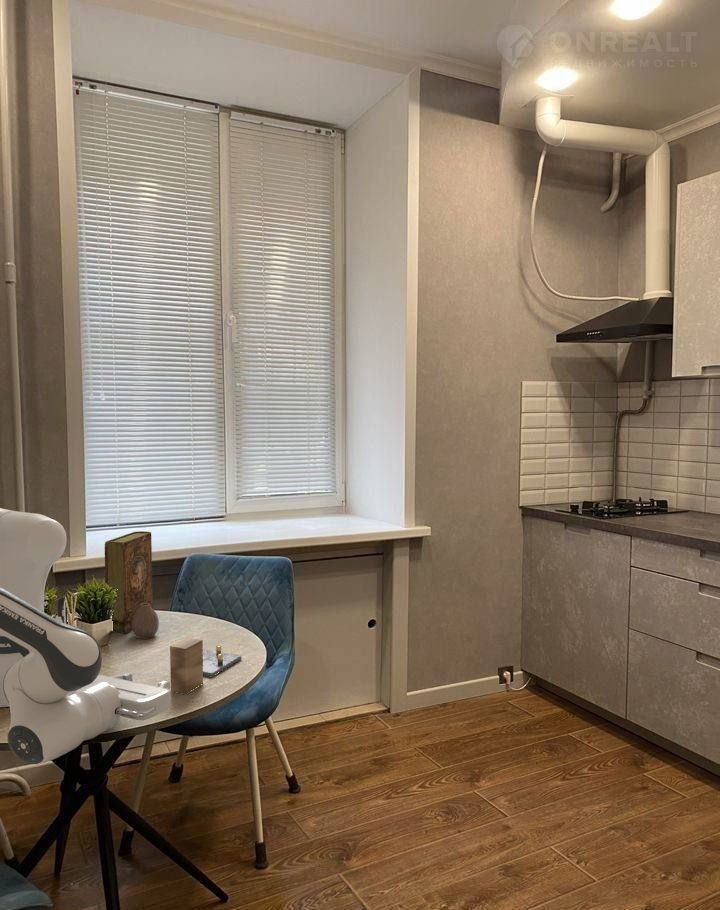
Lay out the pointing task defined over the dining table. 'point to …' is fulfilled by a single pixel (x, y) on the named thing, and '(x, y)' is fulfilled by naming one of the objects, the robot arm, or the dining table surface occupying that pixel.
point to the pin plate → (217, 661)
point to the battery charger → (62, 609)
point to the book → (129, 575)
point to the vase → (145, 622)
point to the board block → (186, 665)
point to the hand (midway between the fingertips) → (148, 680)
